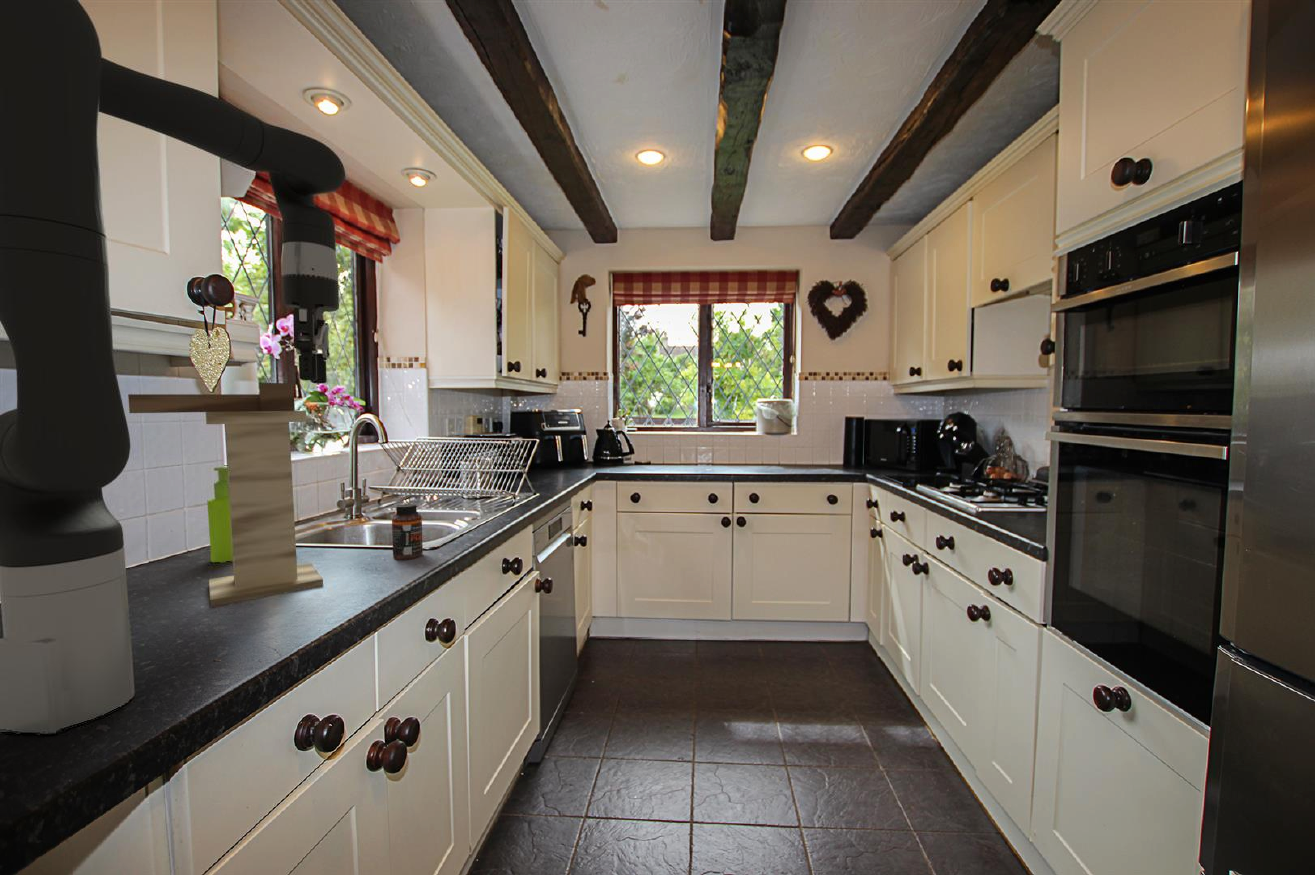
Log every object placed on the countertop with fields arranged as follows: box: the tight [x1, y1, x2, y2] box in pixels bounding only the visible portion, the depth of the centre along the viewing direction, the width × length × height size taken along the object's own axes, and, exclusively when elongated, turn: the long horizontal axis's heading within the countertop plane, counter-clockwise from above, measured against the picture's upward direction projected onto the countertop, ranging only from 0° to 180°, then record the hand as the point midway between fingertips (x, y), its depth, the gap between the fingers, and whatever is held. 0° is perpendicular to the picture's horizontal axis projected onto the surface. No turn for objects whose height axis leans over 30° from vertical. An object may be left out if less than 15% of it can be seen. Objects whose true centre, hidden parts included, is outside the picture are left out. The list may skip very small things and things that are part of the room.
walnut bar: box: [127, 382, 296, 414], centre depth 95 cm, size 5×22×5 cm, turn 126°
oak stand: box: [205, 409, 324, 608], centre depth 100 cm, size 14×16×32 cm
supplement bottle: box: [391, 503, 424, 560], centre depth 119 cm, size 6×6×11 cm
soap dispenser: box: [207, 466, 233, 563], centre depth 118 cm, size 6×7×20 cm
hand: (313, 381), depth 87 cm, fingers open, 8 cm apart
